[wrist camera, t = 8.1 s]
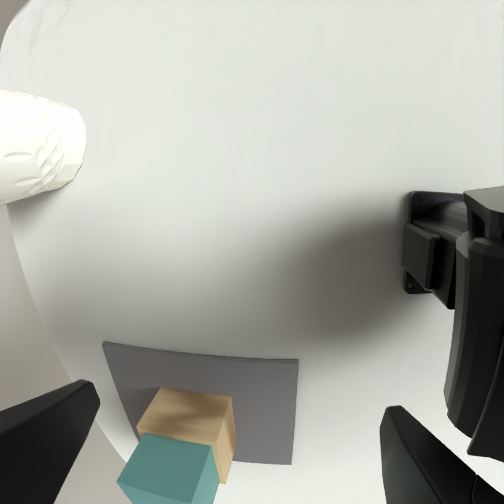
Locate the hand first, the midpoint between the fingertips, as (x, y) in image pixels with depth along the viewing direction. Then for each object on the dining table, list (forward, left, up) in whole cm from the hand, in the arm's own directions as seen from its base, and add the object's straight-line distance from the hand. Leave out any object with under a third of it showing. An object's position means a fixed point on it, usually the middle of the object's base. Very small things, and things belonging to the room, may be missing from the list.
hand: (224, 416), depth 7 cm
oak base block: (+6, +13, -12) cm, 18 cm away
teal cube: (+6, +13, -6) cm, 16 cm away
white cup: (+16, -10, -12) cm, 22 cm away
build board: (+6, +13, -12) cm, 19 cm away
